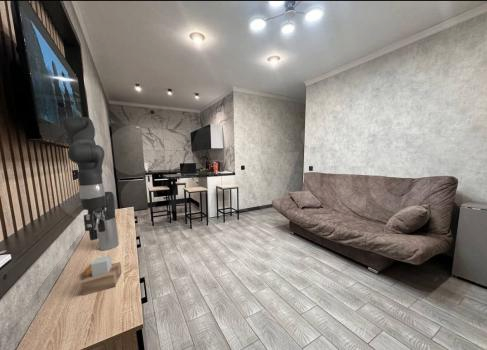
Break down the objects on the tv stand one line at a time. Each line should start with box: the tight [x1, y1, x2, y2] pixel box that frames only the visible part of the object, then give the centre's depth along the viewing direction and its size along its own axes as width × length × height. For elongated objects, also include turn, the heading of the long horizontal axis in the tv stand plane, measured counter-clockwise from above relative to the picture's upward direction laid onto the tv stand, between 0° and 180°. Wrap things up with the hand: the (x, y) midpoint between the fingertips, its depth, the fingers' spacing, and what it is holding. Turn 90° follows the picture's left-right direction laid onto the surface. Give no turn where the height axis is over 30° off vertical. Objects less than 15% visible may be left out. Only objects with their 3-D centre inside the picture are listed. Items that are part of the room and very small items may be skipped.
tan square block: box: [81, 261, 122, 296], centre depth 73 cm, size 10×10×5 cm
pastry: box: [83, 262, 93, 279], centre depth 80 cm, size 9×7×4 cm
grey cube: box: [90, 254, 113, 277], centre depth 72 cm, size 5×5×5 cm
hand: (98, 235), depth 71 cm, fingers open, 8 cm apart
